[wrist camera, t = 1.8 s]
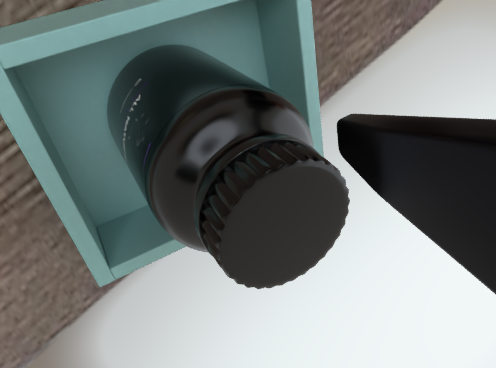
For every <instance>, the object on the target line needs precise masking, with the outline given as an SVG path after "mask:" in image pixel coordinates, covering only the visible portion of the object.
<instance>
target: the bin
mask: <svg viewBox="0 0 496 368" xmlns="http://www.w3.org/2000/svg"><path fill="white" fill-rule="evenodd" d="M170 44H174V45H185V46H189V47H193V48H195V49H198V50H200V51H203V52H205V53H207V54H208V55H211V56H212V57H214V58H216V59H218V60H220V61H221V62H223V63H225V64H227V65H228V66H230V67H232V68H234V69H236V70H237V71H239V72H241V73H243V74H244V75H246V76H248V77H250V78H252V79H253V80H255V81H257V82H259V83H261V84H262V85H264V86H266V87H268V88H269V89H271V90H273V91H275V92H276V93H278V94H280V95H281V96H283V97H284V98H285V99H287V100H288V101H289V102H291V103H292V104H293V105H294V106H295V107H296V108H297V109H298V111H299V112H300V113H301V115H302V116H303V118H304V119H305V121H306V123H307V125H308V127H309V130H310V133H311V136H312V140H313V145H314V149H315V150H316V151H317V152H318V153H319V154H320V155H321V156H322V157H324V155H323V142H322V130H321V117H320V105H319V93H318V80H317V68H316V56H315V44H314V32H313V19H312V7H311V0H103V1H99V2H95V3H91V4H87V5H84V6H80V7H76V8H72V9H69V10H65V11H61V12H57V13H53V14H50V15H46V16H42V17H38V18H35V19H31V20H27V21H23V22H19V23H16V24H12V25H8V26H4V27H1V28H0V114H1V116H2V117H3V119H4V121H5V123H6V124H7V126H8V128H9V130H10V131H11V133H12V135H13V137H14V138H15V140H16V142H17V144H18V145H19V147H20V149H21V151H22V152H23V154H24V156H25V158H26V159H27V161H28V163H29V165H30V166H31V168H32V170H33V172H34V173H35V175H36V177H37V179H38V180H39V182H40V184H41V186H42V187H43V189H44V191H45V193H46V194H47V196H48V198H49V200H50V201H51V203H52V205H53V207H54V208H55V210H56V212H57V214H58V215H59V217H60V219H61V221H62V222H63V224H64V226H65V228H66V229H67V231H68V233H69V235H70V236H71V238H72V240H73V242H74V243H75V245H76V247H77V249H78V250H79V252H80V254H81V256H82V257H83V259H84V261H85V263H86V265H87V266H88V268H89V270H90V272H91V273H92V275H93V277H94V279H95V280H96V282H97V284H98V286H99V287H102V286H104V285H106V284H108V283H110V282H112V281H114V280H115V279H118V278H121V277H123V276H125V275H127V274H129V273H131V272H133V271H135V270H137V269H139V268H141V267H144V266H146V265H148V264H150V263H152V262H154V261H156V260H158V259H161V258H162V257H165V256H167V255H169V254H171V253H173V252H175V251H177V250H179V249H182V248H184V247H185V245H183V244H181V243H180V242H178V241H176V240H175V239H174V238H172V237H171V236H170V235H169V234H168V233H167V232H166V231H165V230H164V229H163V228H162V227H161V225H160V224H159V222H158V221H157V219H156V218H155V216H154V215H153V213H152V211H151V209H150V207H149V205H148V204H147V202H146V200H145V198H144V196H143V194H142V192H141V190H140V189H139V187H138V185H137V183H136V181H135V179H134V177H133V175H132V174H131V172H130V170H129V168H128V166H127V164H126V162H125V160H124V159H123V157H122V155H121V153H120V151H119V149H118V147H117V145H116V143H115V141H114V139H113V137H112V134H111V132H110V128H109V125H108V119H107V103H108V97H109V93H110V90H111V87H112V85H113V83H114V81H115V79H116V77H117V76H118V74H119V73H120V71H121V70H122V69H123V67H124V66H125V65H126V64H127V63H128V62H129V61H131V60H132V59H133V58H134V57H136V56H137V55H139V54H141V53H142V52H144V51H146V50H149V49H151V48H154V47H157V46H162V45H170Z"/></svg>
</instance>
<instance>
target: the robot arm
mask: <svg viewBox="0 0 496 368" xmlns="http://www.w3.org/2000/svg"><path fill="white" fill-rule="evenodd" d="M337 134H338V146H339V151H340V153H341V155H342V156H343V158H344V159H345V160H346V161H347V162H348V163H349V164H350V165H351V166H352V167H353V168H354V170H355V171H357V173H359V175H360V176H361V177H362V178H363V179H364V180H365V181H366V182H367V183H368V184H369V185H370V186H371V187H372V188H373V190H374V191H375V192H377V194H379V195H380V196H381V197H382V198H383V199H384V200H385V201H386V202H388V203H389V204H390V205H391V206H392V207H393V208H395V209H396V210H397V211H398V212H399V213H400V214H402V215H403V216H404V217H405V218H406V219H408V220H409V221H410V222H411V223H412V224H413V225H415V226H416V227H417V228H418V229H419V230H421V231H422V232H423V233H424V234H425V235H426V236H428V237H429V238H430V239H431V240H432V241H434V242H435V243H436V244H437V245H438V246H439V247H441V248H442V249H443V250H444V251H445V252H447V253H448V254H449V255H450V256H451V257H452V258H454V259H455V260H456V261H457V262H458V263H459V264H461V265H462V266H463V267H464V268H465V269H467V270H468V271H469V272H470V273H471V274H472V275H474V276H475V277H476V278H477V279H478V280H479V281H481V282H482V283H483V284H484V285H485V286H487V287H488V288H489V289H490V290H491V291H492V292H494V293H495V294H496V120H492V119H469V118H443V117H417V116H395V115H370V114H350V115H348V116H346V117H344V118H342V119H340V120H339V121H338V122H337Z"/></svg>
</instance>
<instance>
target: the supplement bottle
mask: <svg viewBox="0 0 496 368" xmlns="http://www.w3.org/2000/svg"><path fill="white" fill-rule="evenodd" d="M107 119H108V125H109V128H110V132H111V134H112V137H113V139H114V141H115V143H116V145H117V147H118V149H119V151H120V153H121V155H122V157H123V159H124V160H125V162H126V164H127V166H128V168H129V170H130V172H131V174H132V175H133V177H134V179H135V181H136V183H137V185H138V187H139V189H140V190H141V192H142V194H143V196H144V198H145V200H146V202H147V204H148V205H149V207H150V209H151V211H152V213H153V215H154V216H155V218H156V219H157V221H158V222H159V224H160V225H161V227H162V228H163V229H164V230H165V231H166V232H167V233H168V234H169V235H170V236H171V237H172V238H174V239H175V240H176V241H178V242H180V243H181V244H183V245H185V246H188V247H190V248H193V249H196V250H199V251H203V252H209V253H210V254H211V255H212V256H213V257H214V258H215V259H216V261H217V263H218V264H219V266H220V267H221V268H222V269H223V271H224V272H225V273H226V275H227V276H228V277H229V278H232V279H234V280H235V282H236V283H237V284H244V285H245V286H246V287H248V288H250V287H255V288H257V289H261V288H264V287H266V288H272V287H274V286H276V285H283V284H284V283H286V282H288V281H293V280H294V279H296V278H297V277H298V276H300V275H303V274H305V273H306V272H307V271H308V270H309V269H310V268H312V267H314V266H315V265H316V264H317V263H318V261H319V260H320V259H322V258H323V257H325V255H326V253H327V252H328V250H330V249H331V248H332V247H333V245H334V242H335V240H336V239H337V238H338V237H339V236H340V232H341V229H342V228H343V226H344V225H345V218H346V216H347V214H348V205H349V202H350V200H349V198H348V193H349V189H348V188H347V187H346V181H345V179H344V178H343V177H342V176H341V173H340V171H339V170H338V169H337V168H336V167H335V166H333V165H332V164H331V163H330V162H329V161H328V160H326V159H325V158H324V157H322V156H321V155H320V154H319V153H318V152H317V151H316V150H315V149H314V145H313V140H312V136H311V133H310V130H309V127H308V125H307V123H306V121H305V119H304V118H303V116H302V115H301V113H300V112H299V111H298V109H297V108H296V107H295V106H294V105H293V104H292V103H291V102H289V101H288V100H287V99H285V98H284V97H283V96H281V95H280V94H278V93H276V92H275V91H273V90H271V89H269V88H268V87H266V86H264V85H262V84H261V83H259V82H257V81H255V80H253V79H252V78H250V77H248V76H246V75H244V74H243V73H241V72H239V71H237V70H236V69H234V68H232V67H230V66H228V65H227V64H225V63H223V62H221V61H220V60H218V59H216V58H214V57H212V56H211V55H208V54H207V53H205V52H203V51H200V50H198V49H195V48H193V47H189V46H185V45H174V44H170V45H162V46H157V47H154V48H151V49H149V50H146V51H144V52H142V53H141V54H139V55H137V56H136V57H134V58H133V59H132V60H131V61H129V62H128V63H127V64H126V65H125V66H124V67H123V69H122V70H121V71H120V73H119V74H118V76H117V77H116V79H115V81H114V83H113V85H112V87H111V90H110V93H109V97H108V103H107Z"/></svg>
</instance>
